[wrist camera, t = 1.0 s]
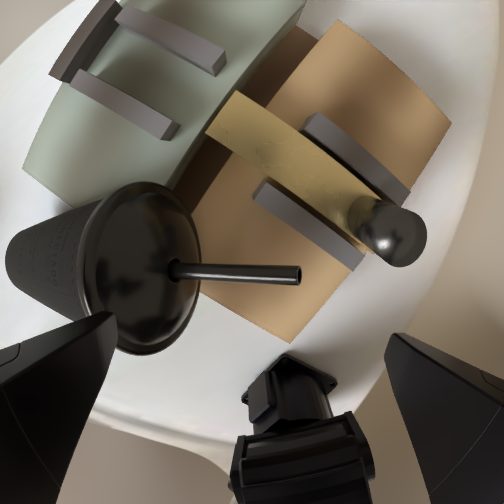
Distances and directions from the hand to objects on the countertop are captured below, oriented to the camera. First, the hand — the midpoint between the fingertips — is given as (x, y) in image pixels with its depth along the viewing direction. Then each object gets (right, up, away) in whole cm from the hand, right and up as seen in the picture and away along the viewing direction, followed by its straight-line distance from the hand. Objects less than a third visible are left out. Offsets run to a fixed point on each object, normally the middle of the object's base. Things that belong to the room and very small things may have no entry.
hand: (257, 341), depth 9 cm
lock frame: (-1, +11, +10) cm, 15 cm away
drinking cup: (-17, +2, +9) cm, 20 cm away
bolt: (+3, +7, +6) cm, 9 cm away
